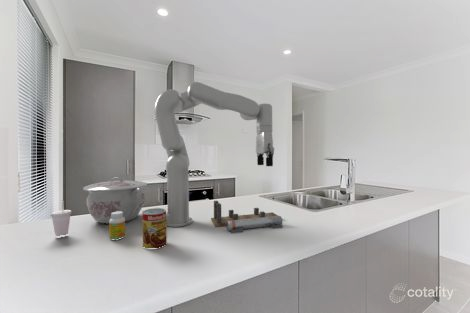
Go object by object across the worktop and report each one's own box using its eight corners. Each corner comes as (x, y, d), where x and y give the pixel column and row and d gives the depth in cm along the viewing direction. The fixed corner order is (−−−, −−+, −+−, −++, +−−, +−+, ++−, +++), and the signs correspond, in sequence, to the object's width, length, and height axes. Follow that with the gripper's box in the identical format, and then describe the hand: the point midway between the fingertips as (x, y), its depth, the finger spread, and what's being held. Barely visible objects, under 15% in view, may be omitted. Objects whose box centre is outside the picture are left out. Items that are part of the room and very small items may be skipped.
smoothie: (75, 234, 89) (75, 199, 89) (58, 240, 83) (57, 203, 83) (64, 232, 91) (63, 198, 91) (47, 238, 85) (46, 201, 85)
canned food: (152, 251, 73) (152, 215, 73) (137, 246, 78) (137, 212, 77) (171, 243, 80) (171, 210, 80) (156, 239, 84) (156, 207, 84)
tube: (229, 231, 91) (228, 221, 91) (226, 229, 94) (226, 219, 95) (282, 226, 97) (282, 216, 98) (278, 224, 101) (277, 215, 102)
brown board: (215, 227, 97) (215, 205, 97) (211, 220, 107) (211, 200, 106) (282, 220, 106) (282, 200, 106) (272, 214, 116) (272, 196, 116)
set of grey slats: (231, 233, 90) (231, 230, 90) (227, 228, 95) (227, 226, 95) (282, 227, 96) (282, 225, 96) (276, 223, 102) (276, 221, 102)
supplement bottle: (109, 242, 82) (108, 215, 81) (109, 237, 86) (109, 211, 86) (125, 239, 84) (125, 213, 84) (125, 234, 89) (124, 210, 89)
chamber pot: (88, 216, 115) (87, 175, 115) (146, 209, 127) (145, 173, 126) (76, 234, 90) (75, 182, 89) (150, 224, 101) (149, 178, 101)
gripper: (250, 131, 115) (250, 164, 116) (265, 128, 99) (265, 167, 99) (263, 131, 118) (264, 164, 118) (280, 128, 101) (280, 166, 102)
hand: (264, 165), depth 109 cm, fingers open, 9 cm apart
